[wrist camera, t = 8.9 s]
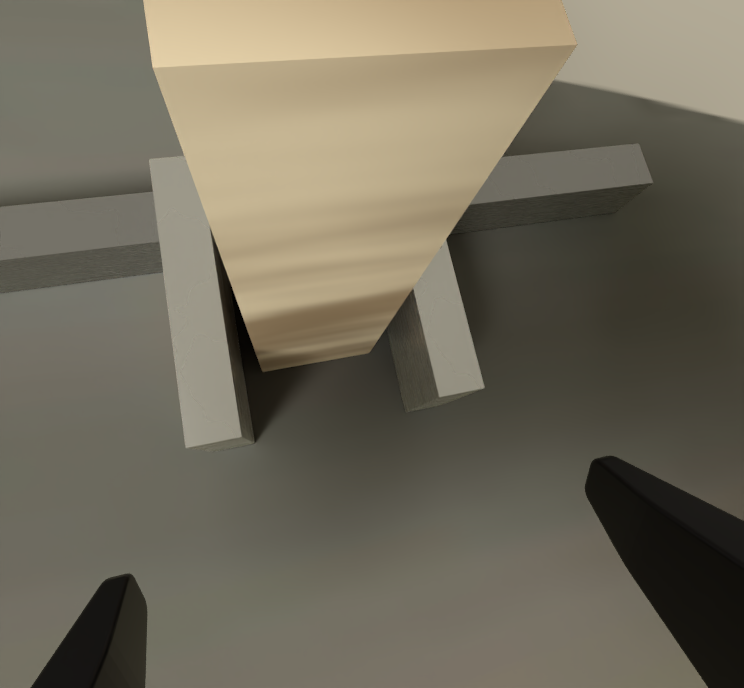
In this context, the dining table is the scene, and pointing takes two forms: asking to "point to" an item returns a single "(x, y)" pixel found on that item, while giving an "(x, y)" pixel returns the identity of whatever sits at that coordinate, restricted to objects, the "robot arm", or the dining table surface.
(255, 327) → the beech pin
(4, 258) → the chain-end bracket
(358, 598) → the dining table surface
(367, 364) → the dining table surface
